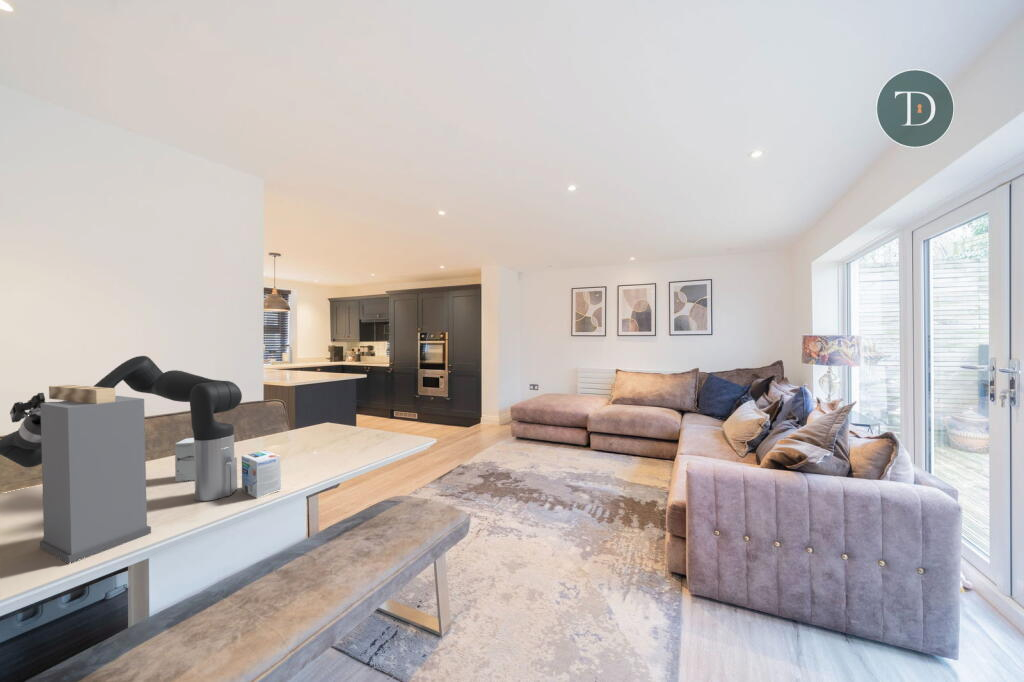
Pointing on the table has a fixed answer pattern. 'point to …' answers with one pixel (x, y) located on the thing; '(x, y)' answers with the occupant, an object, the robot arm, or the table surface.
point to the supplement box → (184, 460)
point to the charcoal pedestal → (93, 476)
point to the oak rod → (82, 393)
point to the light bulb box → (261, 473)
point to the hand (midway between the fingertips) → (69, 393)
